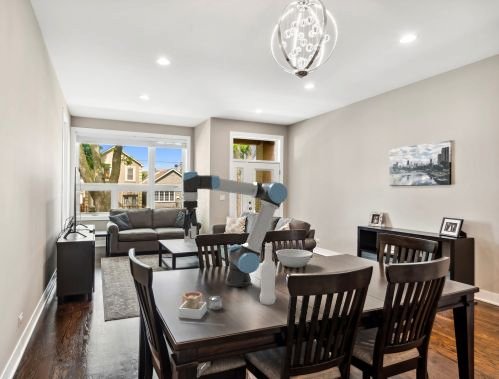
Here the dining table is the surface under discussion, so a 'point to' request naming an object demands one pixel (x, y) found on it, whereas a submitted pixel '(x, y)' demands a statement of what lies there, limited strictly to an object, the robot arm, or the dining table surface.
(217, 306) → the tin
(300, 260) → the bowl
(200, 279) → the dining table surface
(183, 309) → the tray white
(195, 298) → the block
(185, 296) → the terracotta cup
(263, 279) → the bottle
